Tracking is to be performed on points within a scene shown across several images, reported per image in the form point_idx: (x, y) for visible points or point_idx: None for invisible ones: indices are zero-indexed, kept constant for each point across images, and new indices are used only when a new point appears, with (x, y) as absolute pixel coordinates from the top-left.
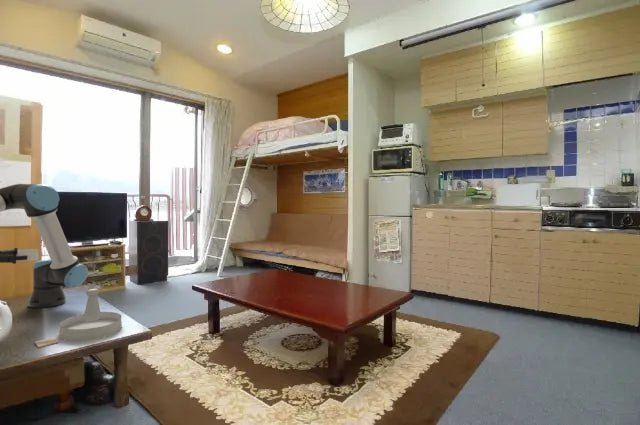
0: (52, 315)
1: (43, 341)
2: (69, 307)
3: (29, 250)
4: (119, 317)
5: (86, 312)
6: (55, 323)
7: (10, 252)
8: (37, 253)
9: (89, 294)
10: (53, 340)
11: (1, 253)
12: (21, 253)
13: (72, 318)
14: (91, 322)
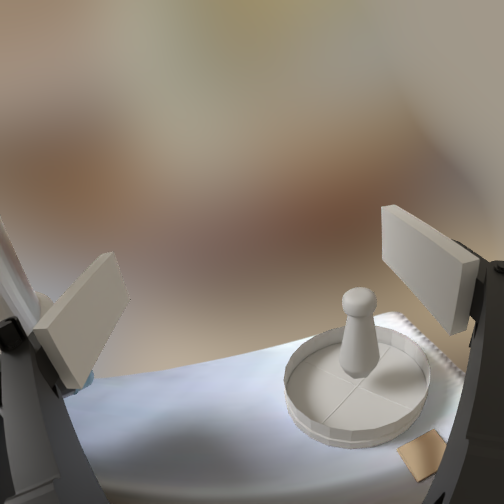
0: (148, 475)
1: (422, 461)
2: (102, 434)
3: (93, 286)
4: (328, 337)
5: (373, 357)
6: (243, 471)
7: (45, 394)
8: (396, 206)
9: (375, 307)
10: (421, 442)
11: (76, 483)
12: (79, 344)
13: (303, 417)
14: (306, 392)
